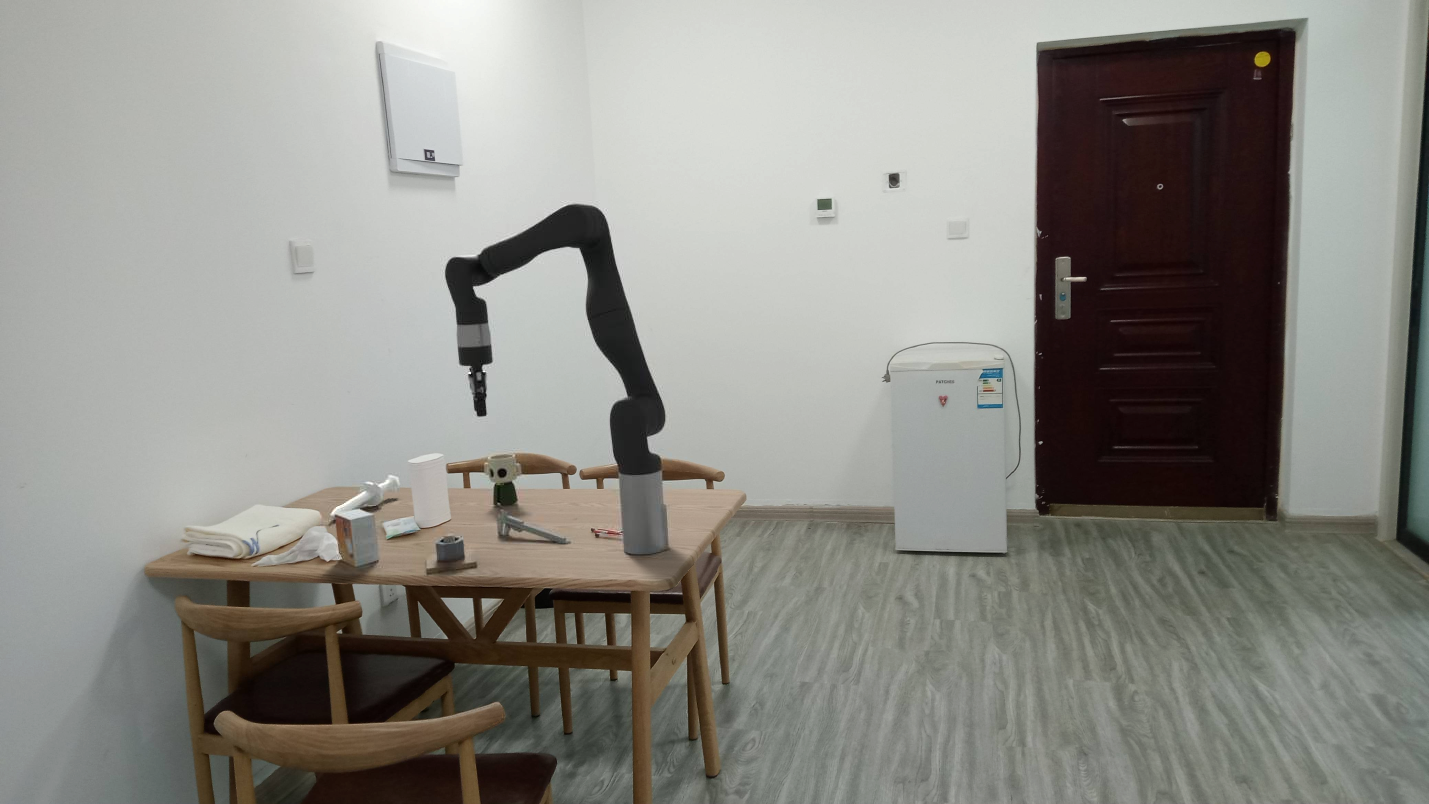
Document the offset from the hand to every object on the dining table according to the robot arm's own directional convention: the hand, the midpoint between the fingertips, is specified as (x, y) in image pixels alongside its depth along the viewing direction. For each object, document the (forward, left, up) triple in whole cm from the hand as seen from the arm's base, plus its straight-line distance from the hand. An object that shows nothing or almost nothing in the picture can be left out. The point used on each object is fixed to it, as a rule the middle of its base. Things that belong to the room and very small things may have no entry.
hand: (480, 413), depth 216 cm
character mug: (-5, -23, -28) cm, 37 cm away
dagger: (+30, -37, -28) cm, 55 cm away
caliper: (-9, +11, -29) cm, 32 cm away
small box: (+29, +10, -28) cm, 41 cm away
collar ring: (+10, +21, -27) cm, 35 cm away
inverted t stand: (+10, +21, -28) cm, 36 cm away
